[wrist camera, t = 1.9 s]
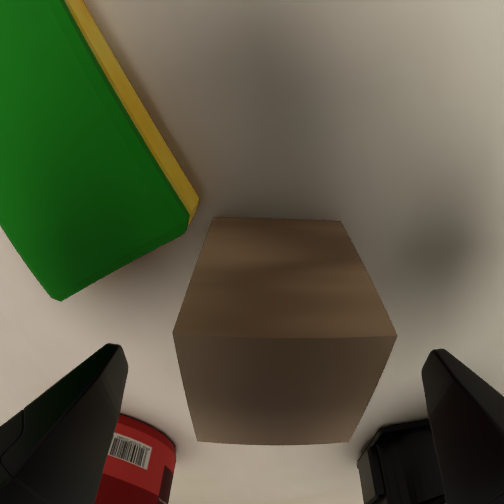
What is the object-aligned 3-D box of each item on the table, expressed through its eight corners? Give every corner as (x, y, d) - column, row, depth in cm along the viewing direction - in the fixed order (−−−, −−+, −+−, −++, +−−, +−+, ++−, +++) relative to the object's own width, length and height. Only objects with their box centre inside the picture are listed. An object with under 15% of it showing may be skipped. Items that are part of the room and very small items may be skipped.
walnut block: (340, 220, 11) (397, 335, 6) (324, 319, 13) (348, 441, 8) (214, 216, 11) (172, 332, 6) (218, 316, 13) (197, 441, 8)
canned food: (60, 403, 18) (11, 523, 9) (150, 410, 17) (111, 569, 8) (110, 453, 22) (82, 556, 12) (193, 461, 21) (175, 582, 11)
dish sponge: (79, 274, 13) (54, 305, 11) (-40, 52, 8) (-74, 56, 5) (206, 202, 11) (192, 230, 9) (56, -55, 6) (24, -70, 4)
